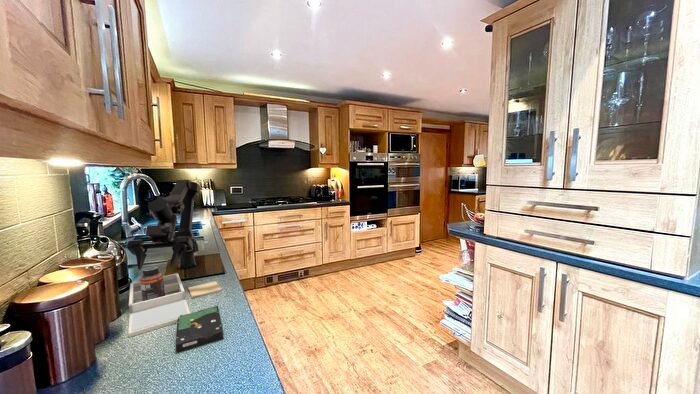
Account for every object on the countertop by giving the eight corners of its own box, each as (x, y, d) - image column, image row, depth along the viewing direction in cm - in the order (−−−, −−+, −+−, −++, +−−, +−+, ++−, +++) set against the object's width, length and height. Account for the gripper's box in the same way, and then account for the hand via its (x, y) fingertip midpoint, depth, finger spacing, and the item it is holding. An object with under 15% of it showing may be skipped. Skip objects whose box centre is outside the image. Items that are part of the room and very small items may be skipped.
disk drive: (224, 340, 69) (218, 313, 82) (224, 330, 69) (217, 304, 82) (176, 356, 64) (177, 324, 77) (175, 344, 64) (176, 314, 76)
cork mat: (188, 289, 98) (188, 287, 98) (216, 282, 103) (215, 280, 103) (192, 298, 91) (192, 296, 90) (221, 290, 96) (221, 289, 96)
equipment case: (131, 292, 96) (130, 283, 95) (178, 282, 104) (177, 273, 104) (128, 337, 70) (127, 324, 70) (191, 318, 79) (190, 306, 78)
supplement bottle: (163, 295, 93) (160, 263, 92) (167, 301, 89) (164, 267, 88) (141, 302, 89) (137, 268, 88) (144, 308, 85) (140, 273, 83)
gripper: (125, 216, 92) (109, 259, 82) (187, 213, 96) (179, 253, 87) (139, 234, 100) (126, 275, 91) (196, 230, 105) (189, 268, 95)
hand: (155, 267), depth 91 cm, fingers open, 9 cm apart
